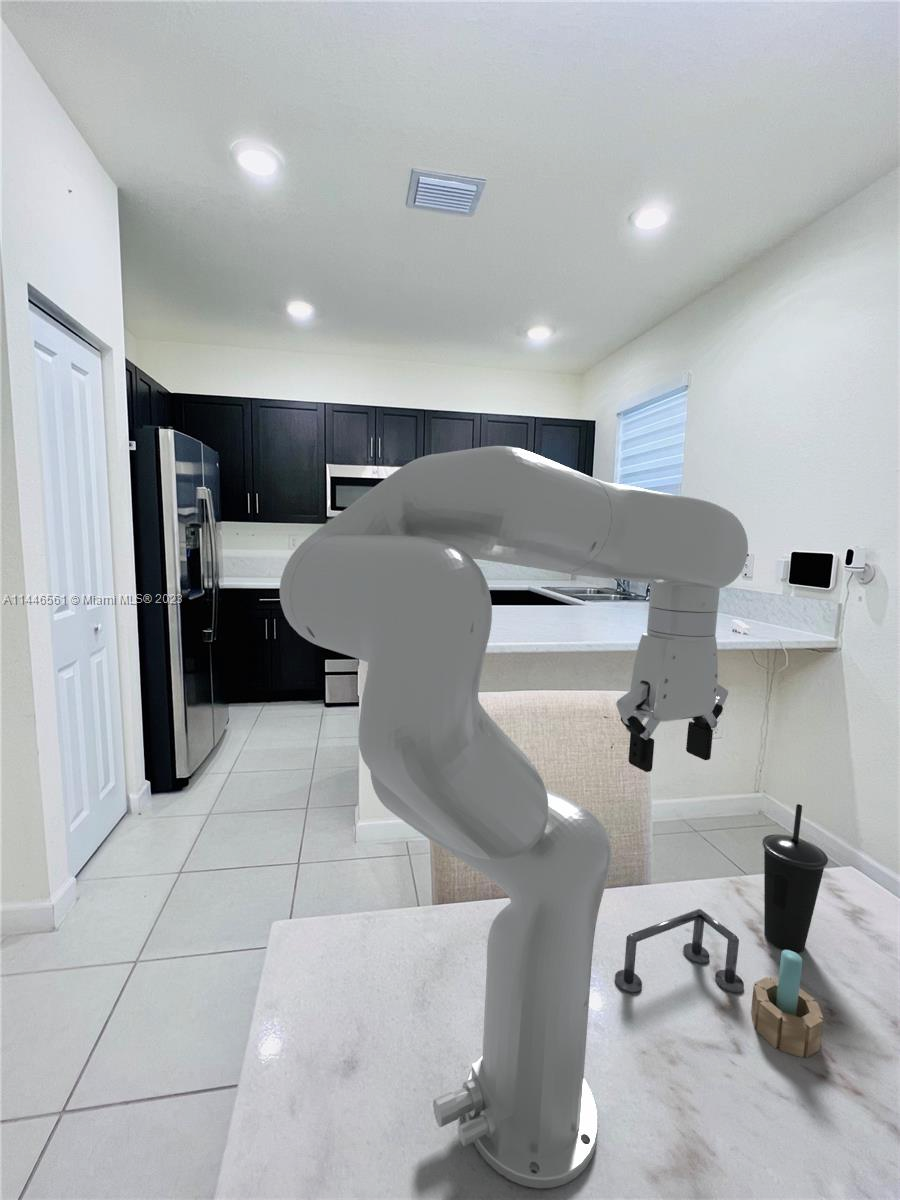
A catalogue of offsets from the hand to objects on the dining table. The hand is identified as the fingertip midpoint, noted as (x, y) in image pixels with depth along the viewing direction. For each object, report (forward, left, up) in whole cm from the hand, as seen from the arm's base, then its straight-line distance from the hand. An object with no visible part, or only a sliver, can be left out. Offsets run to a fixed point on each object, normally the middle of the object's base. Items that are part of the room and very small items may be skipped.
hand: (669, 761), depth 66 cm
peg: (+8, -12, -28) cm, 32 cm away
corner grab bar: (+2, -3, -28) cm, 28 cm away
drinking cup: (+22, -3, -28) cm, 36 cm away
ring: (+8, -12, -28) cm, 32 cm away
